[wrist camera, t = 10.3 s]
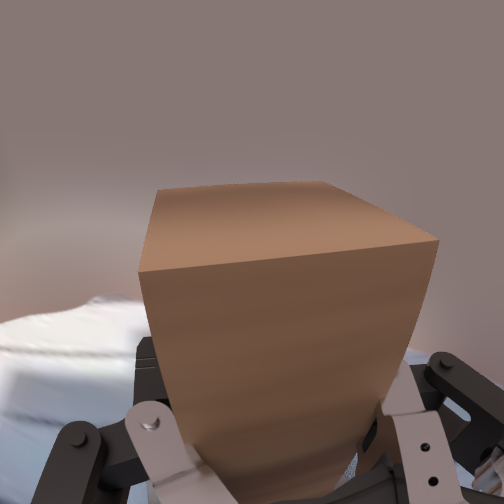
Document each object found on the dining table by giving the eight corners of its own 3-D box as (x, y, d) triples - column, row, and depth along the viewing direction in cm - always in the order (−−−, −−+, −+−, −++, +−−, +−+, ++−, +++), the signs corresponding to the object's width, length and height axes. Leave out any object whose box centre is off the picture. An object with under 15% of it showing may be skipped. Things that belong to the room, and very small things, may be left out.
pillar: (328, 495, 10) (439, 239, 5) (216, 521, 9) (138, 271, 4) (293, 418, 14) (322, 181, 9) (198, 435, 13) (157, 190, 8)
